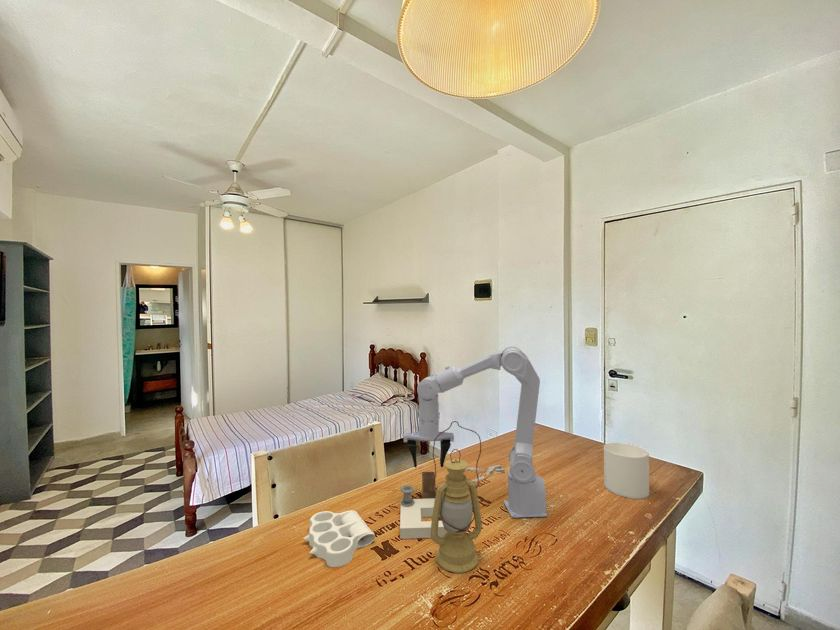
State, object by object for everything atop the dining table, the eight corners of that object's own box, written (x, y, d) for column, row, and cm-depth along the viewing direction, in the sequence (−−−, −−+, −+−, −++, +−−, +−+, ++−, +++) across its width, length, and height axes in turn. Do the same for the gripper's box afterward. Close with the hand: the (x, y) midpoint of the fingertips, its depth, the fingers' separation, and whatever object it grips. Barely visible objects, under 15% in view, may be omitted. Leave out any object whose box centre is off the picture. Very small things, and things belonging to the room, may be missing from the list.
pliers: (456, 466, 118) (495, 461, 122) (456, 471, 118) (496, 465, 122) (467, 479, 109) (510, 473, 113) (467, 484, 109) (510, 478, 113)
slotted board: (444, 507, 96) (443, 483, 96) (450, 537, 83) (449, 509, 83) (401, 508, 95) (400, 485, 95) (400, 538, 82) (399, 511, 82)
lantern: (473, 538, 82) (472, 412, 82) (491, 567, 72) (489, 425, 73) (425, 546, 79) (423, 416, 79) (436, 578, 70) (434, 430, 70)
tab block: (434, 495, 102) (434, 471, 102) (435, 502, 98) (435, 478, 98) (422, 495, 102) (422, 472, 102) (423, 503, 98) (422, 478, 98)
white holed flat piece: (381, 551, 78) (316, 578, 71) (352, 514, 94) (296, 532, 86) (380, 536, 78) (316, 562, 71) (351, 501, 94) (296, 519, 86)
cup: (606, 494, 101) (606, 454, 101) (602, 477, 112) (601, 440, 112) (653, 502, 97) (653, 459, 97) (644, 483, 107) (643, 445, 107)
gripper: (451, 414, 104) (451, 459, 104) (403, 415, 103) (403, 460, 104) (455, 422, 97) (454, 470, 97) (403, 422, 96) (403, 470, 96)
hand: (428, 465), depth 100 cm, fingers open, 7 cm apart
